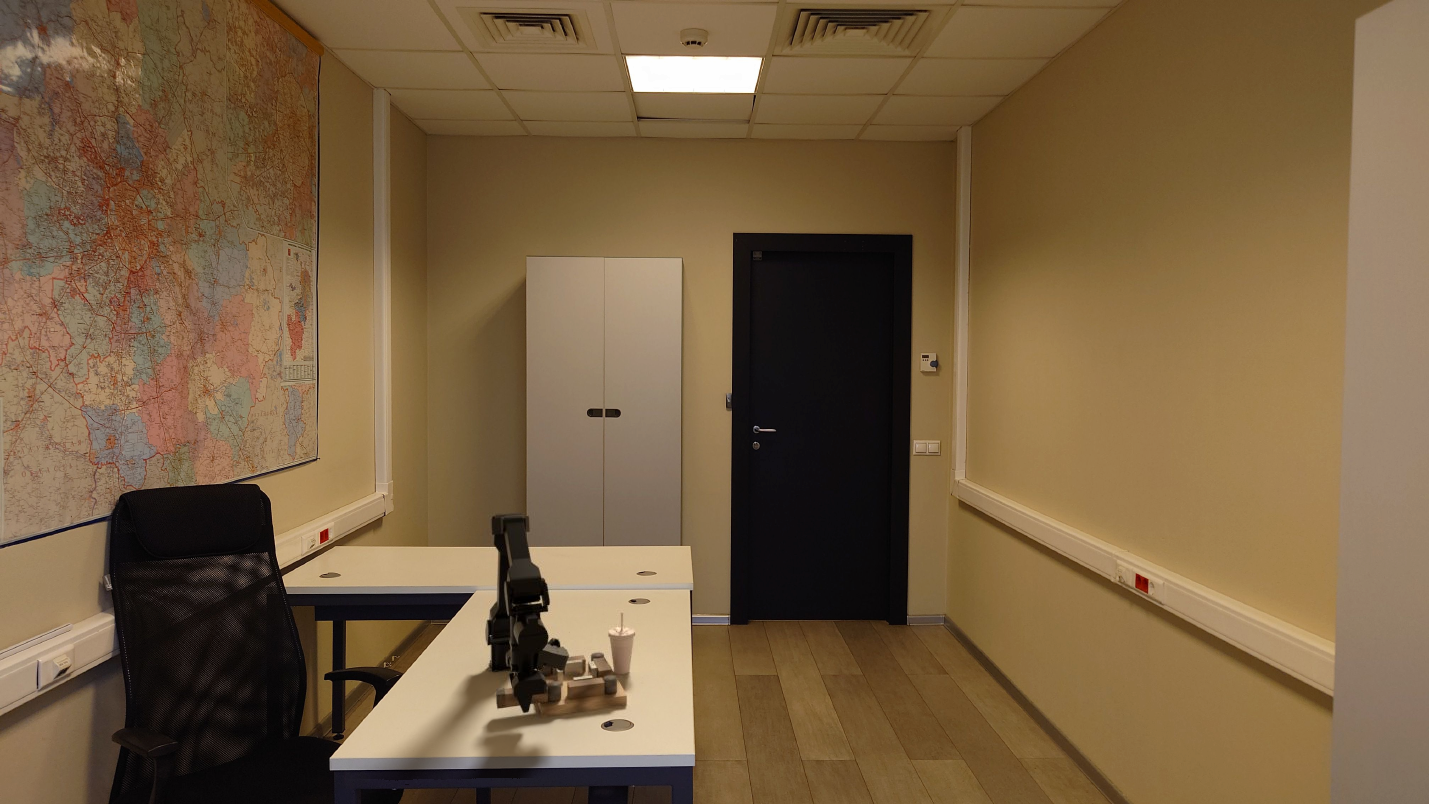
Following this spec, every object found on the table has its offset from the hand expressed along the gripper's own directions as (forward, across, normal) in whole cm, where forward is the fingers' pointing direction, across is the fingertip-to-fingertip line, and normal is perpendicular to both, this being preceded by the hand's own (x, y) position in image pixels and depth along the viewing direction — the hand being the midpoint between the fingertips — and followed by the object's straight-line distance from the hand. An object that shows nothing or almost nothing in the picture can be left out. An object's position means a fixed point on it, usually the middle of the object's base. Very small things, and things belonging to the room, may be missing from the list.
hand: (525, 711), depth 158 cm
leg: (+1, +6, -1) cm, 6 cm away
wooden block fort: (+3, +13, -12) cm, 18 cm away
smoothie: (+3, +21, -24) cm, 33 cm away
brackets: (+1, +13, -13) cm, 18 cm away
